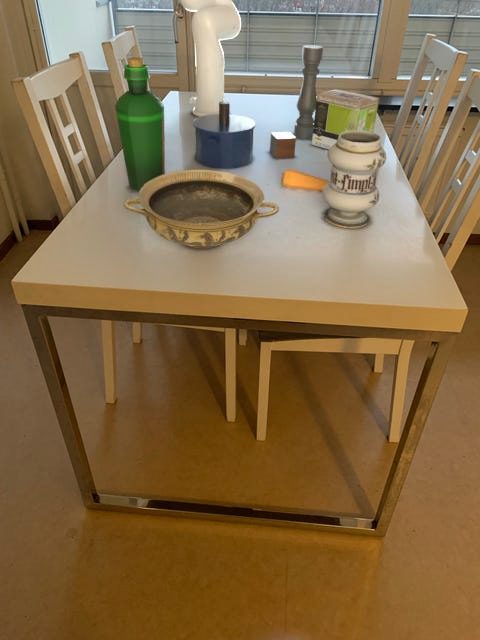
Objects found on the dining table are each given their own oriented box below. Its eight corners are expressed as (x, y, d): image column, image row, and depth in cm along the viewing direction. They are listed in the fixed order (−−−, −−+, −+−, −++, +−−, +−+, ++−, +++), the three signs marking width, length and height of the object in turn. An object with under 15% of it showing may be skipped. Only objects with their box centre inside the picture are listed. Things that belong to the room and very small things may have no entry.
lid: (183, 132, 126) (182, 107, 122) (205, 115, 138) (205, 92, 134) (245, 140, 122) (246, 114, 118) (261, 122, 135) (263, 98, 131)
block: (269, 152, 140) (271, 133, 137) (287, 151, 141) (289, 131, 138) (276, 159, 136) (277, 139, 133) (294, 157, 137) (296, 137, 134)
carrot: (279, 190, 121) (281, 176, 117) (282, 177, 123) (284, 163, 119) (358, 205, 119) (363, 192, 115) (360, 192, 121) (365, 179, 117)
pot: (184, 167, 129) (182, 132, 123) (210, 143, 145) (209, 111, 139) (240, 175, 126) (241, 140, 120) (260, 149, 142) (261, 117, 136)
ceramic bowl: (116, 268, 89) (108, 218, 83) (139, 211, 108) (134, 167, 101) (279, 273, 89) (283, 224, 83) (273, 215, 108) (277, 171, 102)
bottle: (176, 182, 121) (169, 57, 104) (157, 198, 113) (146, 66, 96) (138, 175, 123) (125, 52, 106) (116, 191, 116) (99, 60, 98)
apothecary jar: (316, 205, 112) (327, 125, 101) (368, 207, 112) (384, 127, 101) (322, 229, 103) (334, 144, 92) (378, 231, 103) (397, 147, 92)
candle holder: (313, 133, 155) (323, 45, 140) (313, 139, 150) (324, 49, 135) (293, 132, 155) (302, 44, 140) (293, 138, 150) (302, 47, 135)
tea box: (370, 150, 144) (381, 97, 135) (352, 158, 138) (361, 103, 129) (329, 138, 152) (336, 87, 143) (310, 145, 146) (316, 92, 137)
